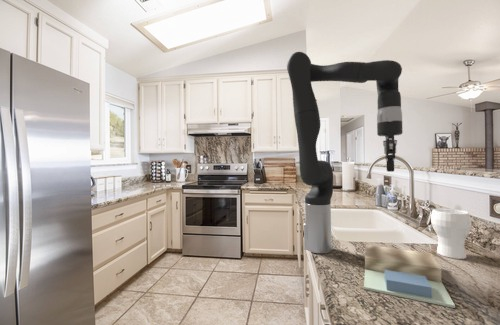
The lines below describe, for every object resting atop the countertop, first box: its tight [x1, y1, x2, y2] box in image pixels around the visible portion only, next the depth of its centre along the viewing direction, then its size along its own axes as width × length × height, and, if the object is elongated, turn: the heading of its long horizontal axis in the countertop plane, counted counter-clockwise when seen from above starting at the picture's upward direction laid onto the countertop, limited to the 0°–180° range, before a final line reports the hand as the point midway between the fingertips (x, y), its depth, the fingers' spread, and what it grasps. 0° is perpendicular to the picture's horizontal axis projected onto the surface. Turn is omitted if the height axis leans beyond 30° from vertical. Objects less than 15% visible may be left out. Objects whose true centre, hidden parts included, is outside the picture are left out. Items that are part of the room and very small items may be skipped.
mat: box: [363, 268, 456, 309], centre depth 60 cm, size 18×11×1 cm, turn 62°
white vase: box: [430, 208, 472, 260], centre depth 81 cm, size 11×11×15 cm
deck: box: [364, 244, 442, 283], centre depth 71 cm, size 18×12×4 cm, turn 62°
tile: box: [385, 270, 432, 298], centre depth 59 cm, size 9×6×2 cm, turn 64°
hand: (390, 171), depth 82 cm, fingers closed
